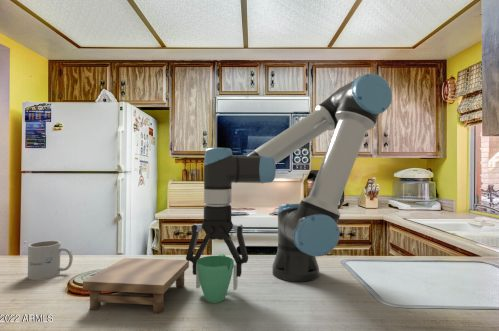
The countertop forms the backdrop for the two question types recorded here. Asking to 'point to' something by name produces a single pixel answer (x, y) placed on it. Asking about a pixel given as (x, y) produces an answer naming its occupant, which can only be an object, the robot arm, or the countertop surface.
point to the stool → (136, 281)
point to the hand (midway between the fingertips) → (216, 287)
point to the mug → (46, 260)
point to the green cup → (215, 276)
